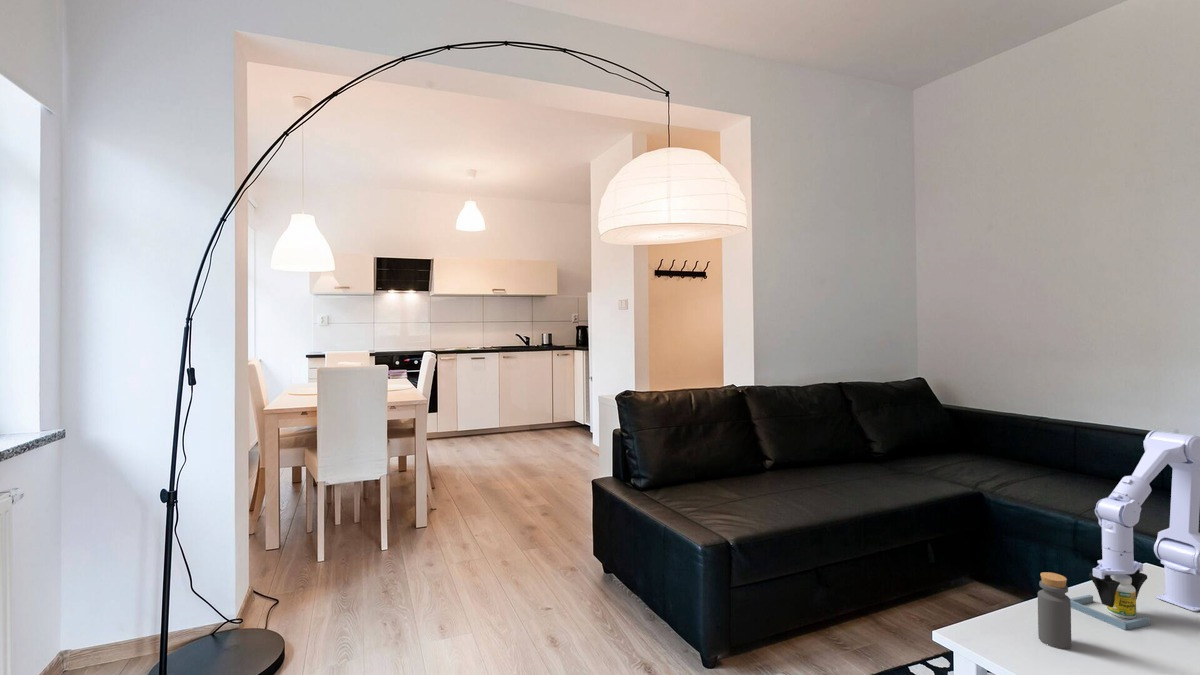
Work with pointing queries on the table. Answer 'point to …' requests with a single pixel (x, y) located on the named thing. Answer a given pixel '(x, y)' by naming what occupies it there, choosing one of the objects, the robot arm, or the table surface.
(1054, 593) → the bottle
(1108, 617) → the blue-grey u-shaped bracket
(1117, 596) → the supplement bottle
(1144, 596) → the table surface
